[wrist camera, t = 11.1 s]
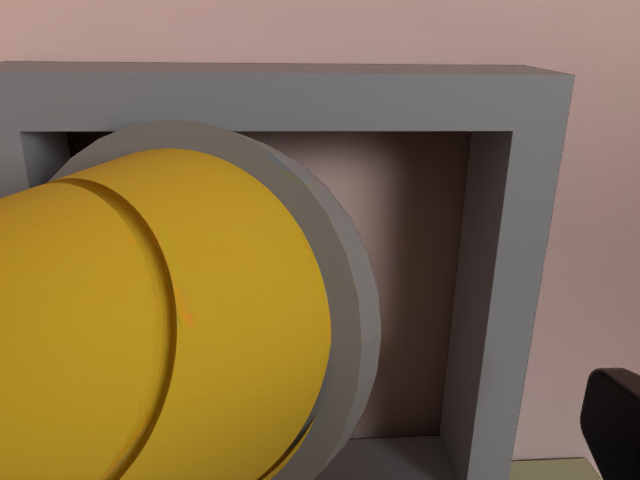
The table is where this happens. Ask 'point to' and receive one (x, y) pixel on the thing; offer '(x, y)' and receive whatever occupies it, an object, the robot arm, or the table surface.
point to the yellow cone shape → (181, 314)
